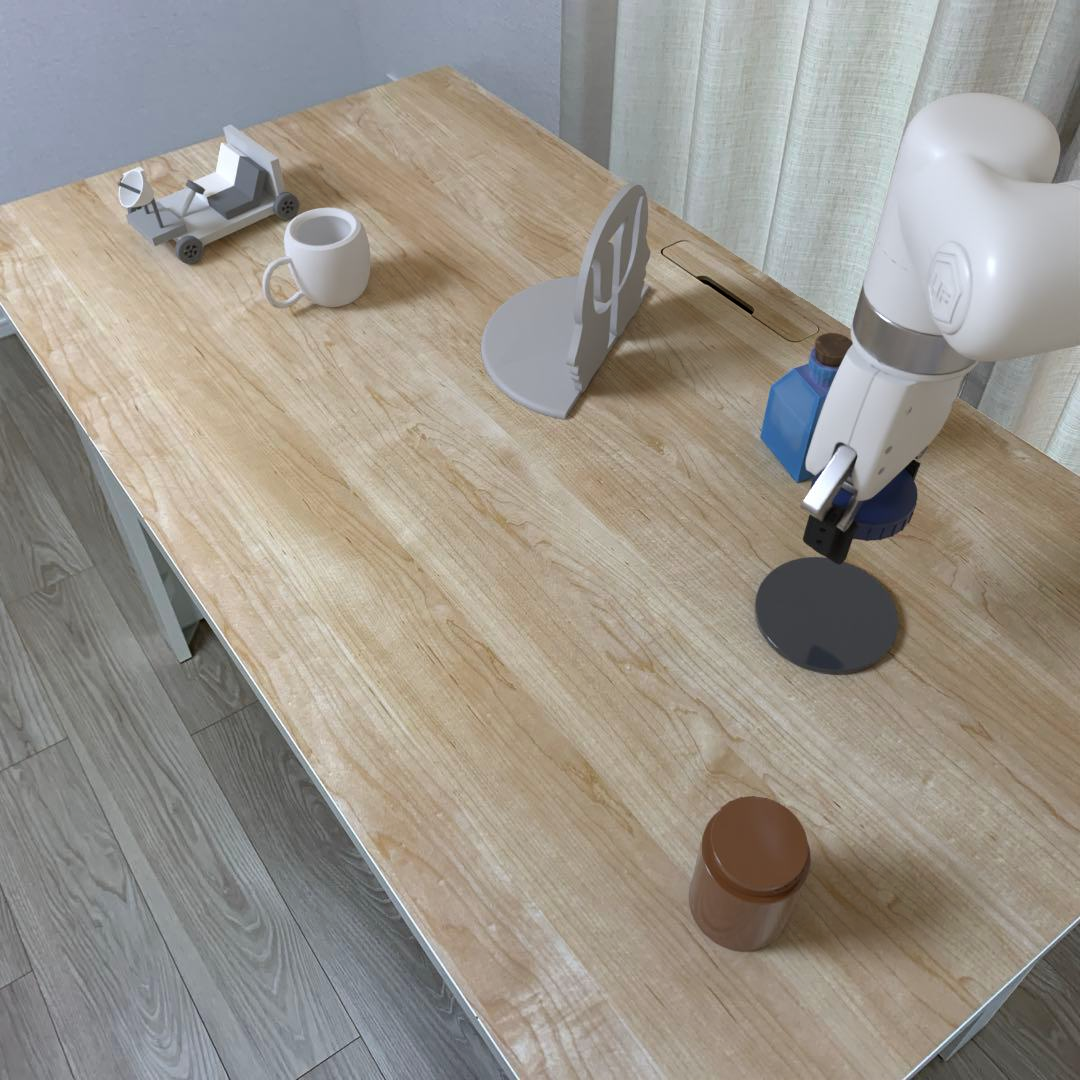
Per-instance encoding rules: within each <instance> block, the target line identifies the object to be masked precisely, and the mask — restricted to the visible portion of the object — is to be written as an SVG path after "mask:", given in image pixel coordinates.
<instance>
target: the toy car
mask: <svg viewBox="0 0 1080 1080" xmlns="http://www.w3.org/2000/svg"><path fill="white" fill-rule="evenodd" d="M222 130H223V134H224V137H225V140H226V142H220V146H219V152H218V156H217V163H216V168H215V171H214V172H212V173H208V174H206V175H204V176H203V177H199V178H197V179H194V180H193V181H192V180H190V179H188V180H187V181H186V183H185V188H183V189H180V190H178V191H175V192H173V193H170V194H168V195H165V196H163V197H161V198H158V199H156V200H155V194H154V193H155V192H154V190H153V187H152V185H151V184H150V183H149V181H148V177H147V174H146V170H145V169H144V168H142V167H141V166H138V167H134V168H131V169H130V170H128V171H125V172H123V173H122V176H123V177H121V178H119V181H118V182H117V186H119V188H118V200H119V203H120V205H121V206H122V207H123V208H127V213H128V214H125V218H126V220H127V223H128V225H130V226H131V227H132V228H133V229H134V230H135V231H137V232H138V233H139V234H140V235H141V236H142V237H143V238H144V239H146V240H147V241H148V242H149V243H150V244H151V245H152V246H154V247H158V246H159V245H162V244H164V243H166V242H169V241H171V240H173V241H174V242H175V243H176V244H175V247H174V253H175V256H176V258H177V259H178V260H179V261H180V262H181V263H183V264H185V265H194V264H195V263H197V262H199V261H200V260H201V259H202V257H203V255H204V252H205V251H204V250H205V248H204V246H206V245H208V244H210V243H213V242H216V241H217V240H219V239H221V238H224V237H226V236H229V235H230V234H233V233H235V232H237V231H239V230H241V229H244V228H246V227H248V226H250V225H253V224H255V223H257V222H259V221H261V220H263V219H265V218H268V217H269V216H272V215H276V216H277V217H278V218H280V220H284V221H288V220H292V219H294V218H295V217H296V215H297V214H298V212H299V210H300V201H299V198H298V196H296V195H295V194H293V192H290V191H286V185H285V181H284V177H283V173H282V168H281V164H280V159H279V157H278V156H276V155H274V153H272V152H270V151H269V150H267V149H266V148H265V147H264V146H262V145H261V144H259V143H257V142H256V141H255V140H253V139H252V138H251V137H249V136H248V135H246V134H245V133H243V132H242V131H241V130H239V129H238V128H237V127H235V126H234V125H232V124H228V125H225V126H224V127H222Z"/></svg>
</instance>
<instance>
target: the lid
mask: <svg viewBox="0 0 1080 1080" xmlns="http://www.w3.org/2000/svg"><path fill="white" fill-rule="evenodd" d="M824 469H825V468H824ZM824 469H823V470H824ZM823 470H821V471H820V472H819V473H818V474H817V475H816V476H815V477H813V478H812V480H811V485H810V488H809V491H810V490H811V488H812V487H813V485H814V484H815V482H816V481H817V479H818V478H819V476H820V475H821V473H822V472H823ZM852 472H853V471H852ZM852 472H851V474H850V475H849V477H851V478H852ZM918 495H919V493H918V487H917V484H916V481H915V480H913V478H912V477H911V475H910V474H909V473H908V471H907V470H906V469H905V468H904V469H903V470H902V471H901V472H900V473H899V474H898V475H897V476H896V477H895V478H893V479H892V480H891V481H890V482H889V483H888V484H887V485H886V486H885V487H884V488H883V489H882V490H881V491H879V492H878V493H877V494H876V495H875V496H874V497H872V498H870V499H868V500H864V502H863V504H862V506H861V507H860V509H859V511H858V513H857V515H856V517H855V518H854V520H853V521H854V522H855V523H856V524H858V525H857V528H856V531H855V534H854V537H853V540H858V541H866V542H870V541H882V540H886V539H889V538H894V536H896V535H898V534H899V533H900V532H904V529H905V528H906V526H907V525H908V524H910V523H911V520H912V517H913V515H914V512H915V509H916V507H917V504H918V503H917V502H918ZM851 497H852V495H851V494H849V493H847V492H846V491H844V490H842V489H841V488H840V490H839V491H838V493H837V494H836V496H835V497H834V499H833V501H832V502H833V503H834V504H836V505H837V506H839V507H841V508H842V509H844V510H845V508H846V506H847V505H848V503H849V501H850V499H851Z"/></svg>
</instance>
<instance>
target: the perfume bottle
mask: <svg viewBox="0 0 1080 1080" xmlns="http://www.w3.org/2000/svg"><path fill="white" fill-rule="evenodd" d="M852 344H853V343H852V339H851V338H849V337H848V336H847V335H844V334H841V333H837V332H827V333H823V334H819V336H818V337H817V338H816V339H815V341H814V347H813V348H812V349H811V351H810V353H809V359H808V362H807V363H806V364H803V365H800V366H796V367H793V368H792V369H791V370H789V371H788V372H787V373H786V374H784V375H783V376H782V377H781V378H779V379H778V380H776V381H775V382H774V383H773V384H771V385H770V388H769V391H768V398H767V401H766V407H765V411H764V416H763V422H762V426H761V431H760V436H759V438H760V439H761V441H762V442H763V443H764V444H765V445H766V447H767V448H768V449H769V451H770V452H771V453H772V454H773V455H774V457H775V458H776V459H777V461H778V462H779V463H780V464H781V465H782V467H783V468H784V469H785V470H786V472H787V473H788V474H789V476H791V478H792V479H793V480H794V481H795V483H796V484H799V483H801V482H803V481H806V480H810V479H813V478H814V477H815V475H813V474H812V473H811V472H809V471H807V470H806V465H805V462H806V457H807V454H808V450H809V447H810V444H811V441H812V437H813V434H814V431H815V428H816V425H817V422H818V419H819V417H820V414H821V411H822V408H823V405H824V402H825V400H826V397H827V394H828V392H829V389H830V387H831V384H832V382H833V380H834V378H835V375H836V373H837V371H838V369H839V367H840V365H841V363H842V360H843V359H844V357H845V355H846V353H847V351H848V349H849V348H850V347H851V345H852Z"/></svg>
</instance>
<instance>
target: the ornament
mask: <svg viewBox="0 0 1080 1080" xmlns="http://www.w3.org/2000/svg"><path fill="white" fill-rule="evenodd" d="M647 195H648V194H647V192H646V190H645V187H643V185H641V184H638V183H634V182H629V183H626V184H624V185H623V186H622V187H621V188H620V189H619V190H618V191H617V192H616V193H615V194H614V195H613V196H612V198H611V199H610V200H609V202H608V204H607V205H606V207H605V208H604V209H603V211H602V212H601V214H600V215H599V218H598V220H597V222H596V224H595V225H594V228H593V230H592V232H591V235H590V236H589V240H588V242H587V245H586V248H585V251H584V254H583V258H582V262H581V265H580V269H579V273H578V274H577V275H569V276H562V277H558V278H552V279H549V280H546V281H542V282H539V283H536V284H533V285H531V286H529V287H526V288H524V289H522V290H521V291H519V292H517V293H515V294H514V295H512V296H511V297H509V298H507V299H506V300H505V301H504V302H503V303H502V304H501V305H500V306H499V307H498V308H497V309H496V310H495V311H494V312H493V313H492V315H491V316H490V318H489V319H488V321H487V323H486V325H485V327H484V328H483V329H484V330H483V332H482V336H481V340H480V341H481V342H480V354H481V355H480V356H481V360H482V364H483V367H484V369H485V372H486V373H487V375H488V377H489V379H490V380H491V381H492V382H493V384H494V385H495V386H496V387H497V388H498V389H499V390H500V391H501V392H502V393H503V394H505V395H506V396H507V397H508V398H510V399H511V400H512V401H514V402H516V403H518V404H519V405H521V406H523V407H525V408H527V409H529V410H530V411H531V410H532V411H534V412H536V413H539V414H542V415H545V416H549V417H550V418H551V417H552V418H555V419H561V420H566V418H567V417H568V415H569V414H570V412H571V411H572V409H573V408H574V406H575V405H576V403H577V402H578V400H579V399H580V397H581V396H582V394H583V393H584V392H585V391H586V390H587V388H588V386H589V384H590V382H591V380H592V378H593V377H594V376H595V374H596V373H597V371H598V370H599V368H600V367H601V366H602V365H603V363H604V361H605V359H606V357H607V356H608V355H609V353H610V351H611V349H612V348H613V347H614V345H615V343H616V342H617V341H618V339H619V337H621V336H622V335H623V333H624V331H625V330H626V327H627V326H628V324H629V322H630V321H631V319H632V318H633V317H634V316H635V315H636V314H637V313H638V311H639V308H640V305H641V303H642V302H643V300H644V299H645V297H646V296H647V294H648V293H649V292H650V290H651V286H650V285H647V284H645V279H646V276H647V265H648V263H649V261H650V257H651V250H650V248H649V244H648V239H647V233H648V227H649V226H648V225H649V203H648V196H647ZM612 238H613V241H612V242H611V241H610V240H611V239H612Z"/></svg>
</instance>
